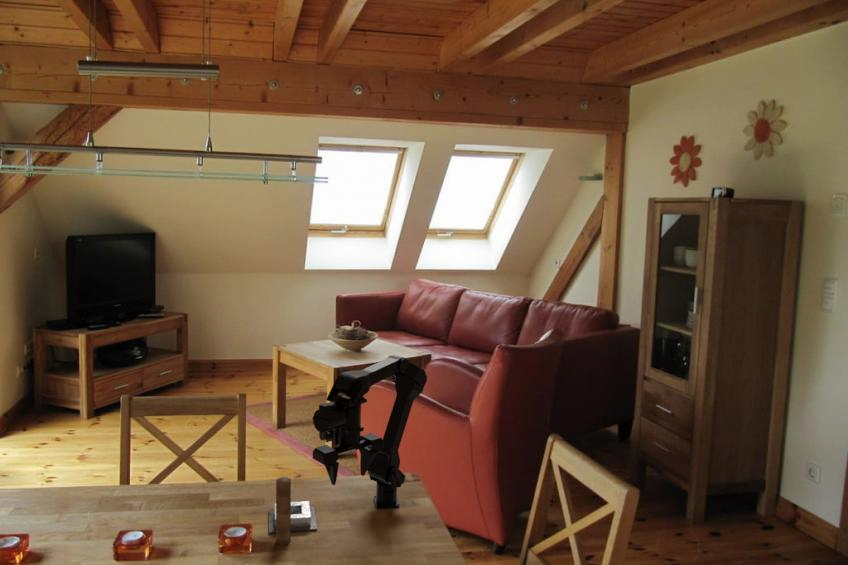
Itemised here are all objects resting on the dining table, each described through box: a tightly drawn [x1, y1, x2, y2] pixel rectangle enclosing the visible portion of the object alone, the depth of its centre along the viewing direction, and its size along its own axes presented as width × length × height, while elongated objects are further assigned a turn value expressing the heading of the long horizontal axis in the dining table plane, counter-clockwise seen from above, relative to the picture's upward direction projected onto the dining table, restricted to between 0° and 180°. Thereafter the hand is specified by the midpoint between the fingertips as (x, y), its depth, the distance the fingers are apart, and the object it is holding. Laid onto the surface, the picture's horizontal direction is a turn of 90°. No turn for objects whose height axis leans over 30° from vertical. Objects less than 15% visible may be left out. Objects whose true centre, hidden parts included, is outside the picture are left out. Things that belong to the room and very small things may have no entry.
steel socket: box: [268, 500, 318, 535], centre depth 183 cm, size 12×12×3 cm
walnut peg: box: [275, 476, 292, 546], centre depth 172 cm, size 4×4×16 cm
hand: (348, 479), depth 182 cm, fingers open, 9 cm apart
